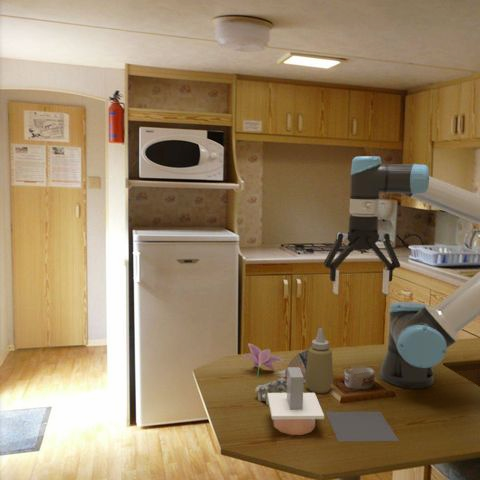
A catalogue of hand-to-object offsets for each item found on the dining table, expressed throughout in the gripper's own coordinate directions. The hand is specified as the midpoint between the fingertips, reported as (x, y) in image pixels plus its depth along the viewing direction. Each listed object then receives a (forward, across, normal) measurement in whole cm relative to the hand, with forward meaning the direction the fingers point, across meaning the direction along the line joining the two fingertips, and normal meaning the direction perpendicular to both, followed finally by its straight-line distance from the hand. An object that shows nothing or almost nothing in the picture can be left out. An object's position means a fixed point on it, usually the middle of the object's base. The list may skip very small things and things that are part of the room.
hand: (360, 293), depth 136 cm
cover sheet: (+24, -20, -18) cm, 36 cm away
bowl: (+29, -20, -18) cm, 39 cm away
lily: (+29, -25, +14) cm, 41 cm away
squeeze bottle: (+29, -10, +2) cm, 31 cm away
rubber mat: (+29, -4, -19) cm, 35 cm away
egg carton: (+29, -23, -2) cm, 37 cm away
